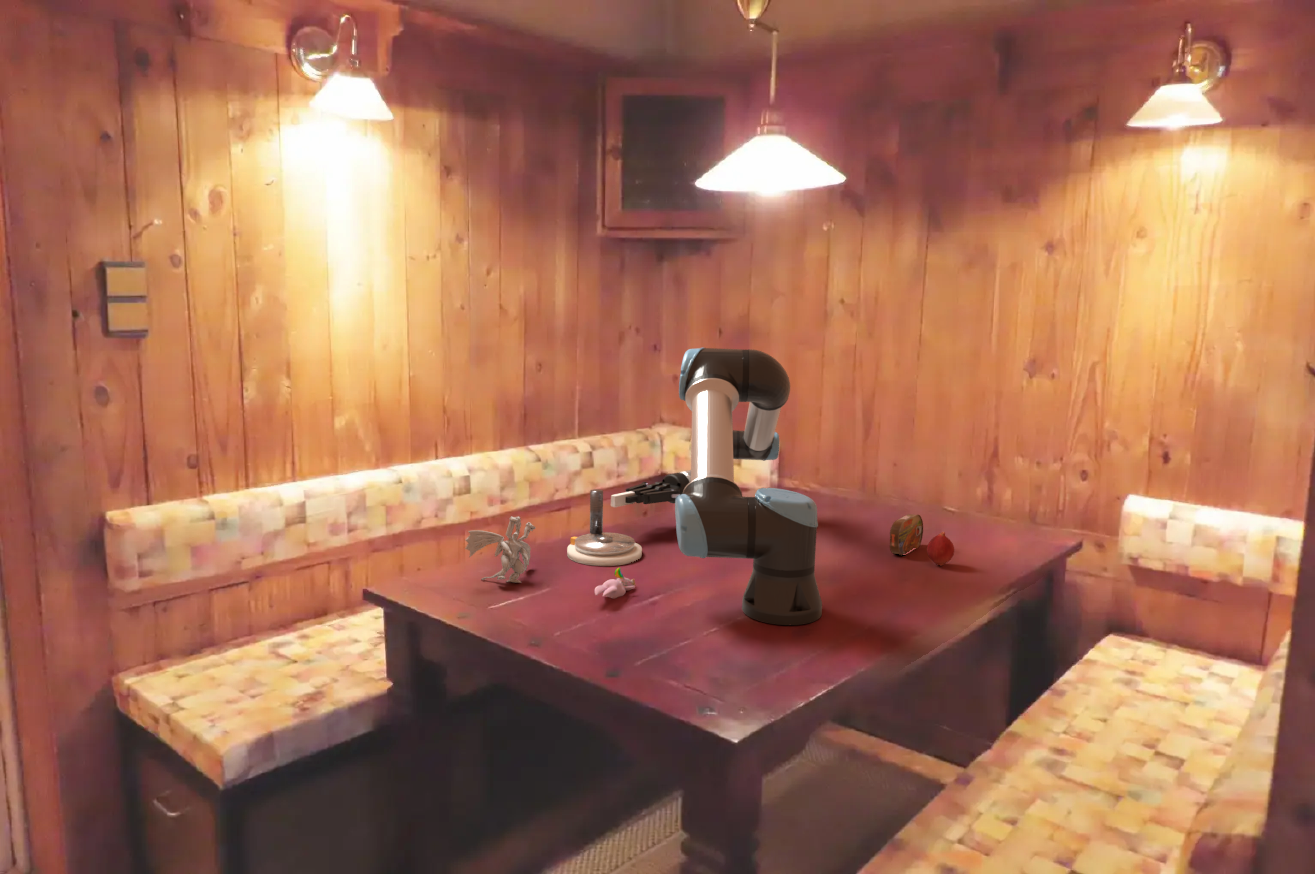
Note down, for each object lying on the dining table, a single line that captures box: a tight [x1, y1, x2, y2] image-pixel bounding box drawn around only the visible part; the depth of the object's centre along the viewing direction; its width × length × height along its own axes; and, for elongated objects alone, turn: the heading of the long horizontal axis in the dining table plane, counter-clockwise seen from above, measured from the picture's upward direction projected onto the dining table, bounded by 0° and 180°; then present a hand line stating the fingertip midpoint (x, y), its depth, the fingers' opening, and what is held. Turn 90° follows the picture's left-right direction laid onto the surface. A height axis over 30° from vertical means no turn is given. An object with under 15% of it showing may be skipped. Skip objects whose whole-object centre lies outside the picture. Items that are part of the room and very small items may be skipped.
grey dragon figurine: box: [464, 515, 536, 584], centre depth 190 cm, size 10×18×14 cm, turn 136°
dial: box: [575, 488, 636, 556], centre depth 208 cm, size 14×14×12 cm
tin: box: [889, 513, 924, 556], centre depth 216 cm, size 15×3×8 cm, turn 143°
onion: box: [926, 531, 955, 566], centre depth 205 cm, size 6×6×8 cm
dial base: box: [566, 536, 643, 567], centre depth 209 cm, size 17×17×3 cm
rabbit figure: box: [594, 566, 636, 600], centre depth 181 cm, size 6×6×15 cm
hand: (613, 501), depth 217 cm, fingers closed
